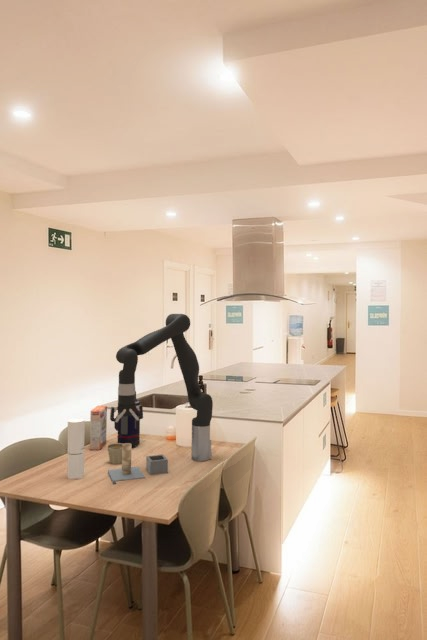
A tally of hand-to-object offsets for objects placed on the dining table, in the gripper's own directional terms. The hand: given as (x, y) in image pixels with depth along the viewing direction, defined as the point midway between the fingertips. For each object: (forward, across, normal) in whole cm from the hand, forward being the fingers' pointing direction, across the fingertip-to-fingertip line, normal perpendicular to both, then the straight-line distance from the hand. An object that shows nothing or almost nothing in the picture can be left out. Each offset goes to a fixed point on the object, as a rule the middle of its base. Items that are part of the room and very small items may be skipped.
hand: (126, 429), depth 212 cm
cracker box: (+22, +5, -50) cm, 55 cm away
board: (+21, 0, 0) cm, 21 cm away
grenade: (+22, -10, -46) cm, 52 cm away
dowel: (+20, 0, 0) cm, 20 cm away
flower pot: (+22, +1, -19) cm, 29 cm away
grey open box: (+21, -14, 0) cm, 26 cm away
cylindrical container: (+21, +21, -8) cm, 31 cm away
